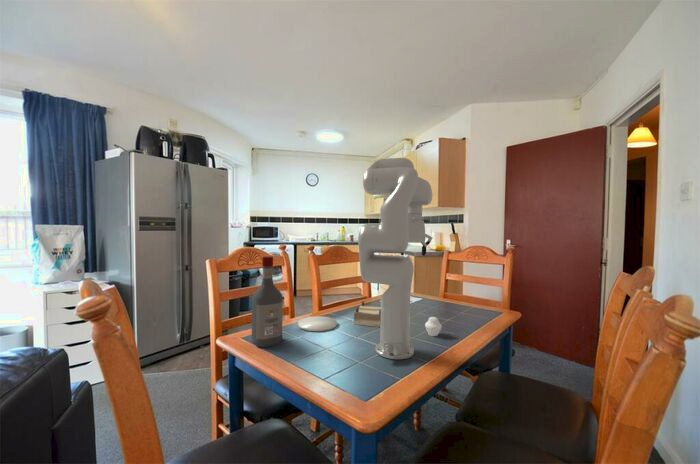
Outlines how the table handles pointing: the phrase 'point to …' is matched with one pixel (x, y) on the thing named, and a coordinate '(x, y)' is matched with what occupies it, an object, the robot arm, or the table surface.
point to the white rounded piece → (433, 326)
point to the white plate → (317, 323)
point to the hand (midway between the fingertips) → (412, 255)
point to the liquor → (267, 309)
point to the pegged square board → (367, 315)
